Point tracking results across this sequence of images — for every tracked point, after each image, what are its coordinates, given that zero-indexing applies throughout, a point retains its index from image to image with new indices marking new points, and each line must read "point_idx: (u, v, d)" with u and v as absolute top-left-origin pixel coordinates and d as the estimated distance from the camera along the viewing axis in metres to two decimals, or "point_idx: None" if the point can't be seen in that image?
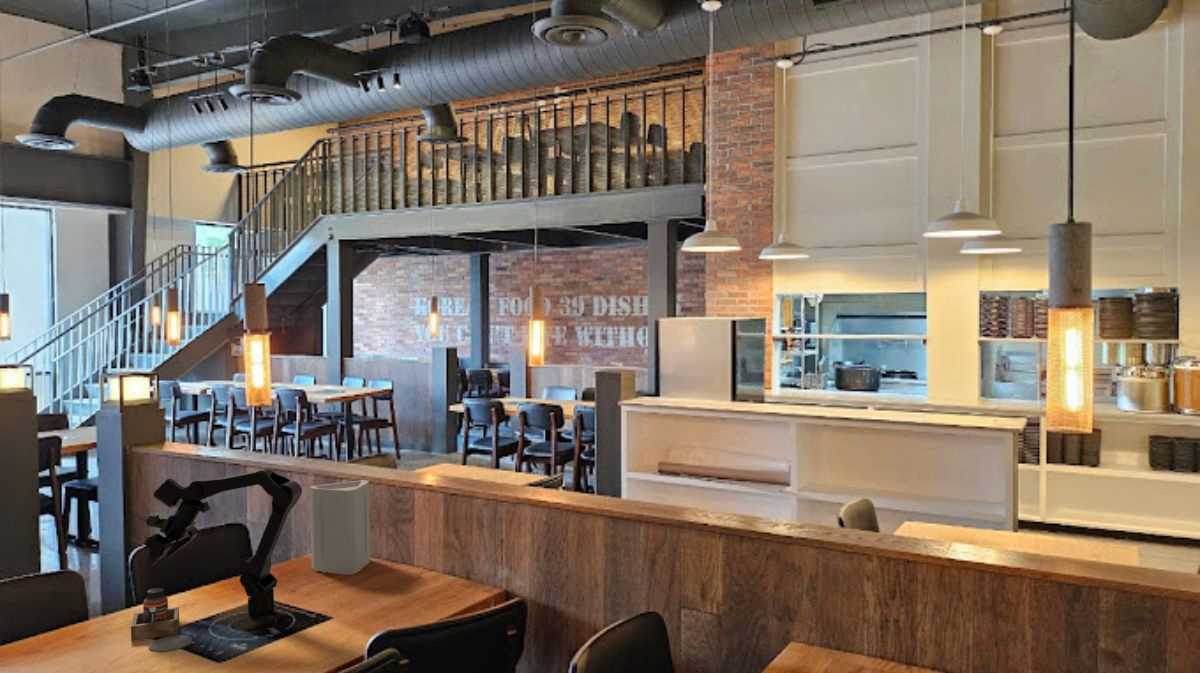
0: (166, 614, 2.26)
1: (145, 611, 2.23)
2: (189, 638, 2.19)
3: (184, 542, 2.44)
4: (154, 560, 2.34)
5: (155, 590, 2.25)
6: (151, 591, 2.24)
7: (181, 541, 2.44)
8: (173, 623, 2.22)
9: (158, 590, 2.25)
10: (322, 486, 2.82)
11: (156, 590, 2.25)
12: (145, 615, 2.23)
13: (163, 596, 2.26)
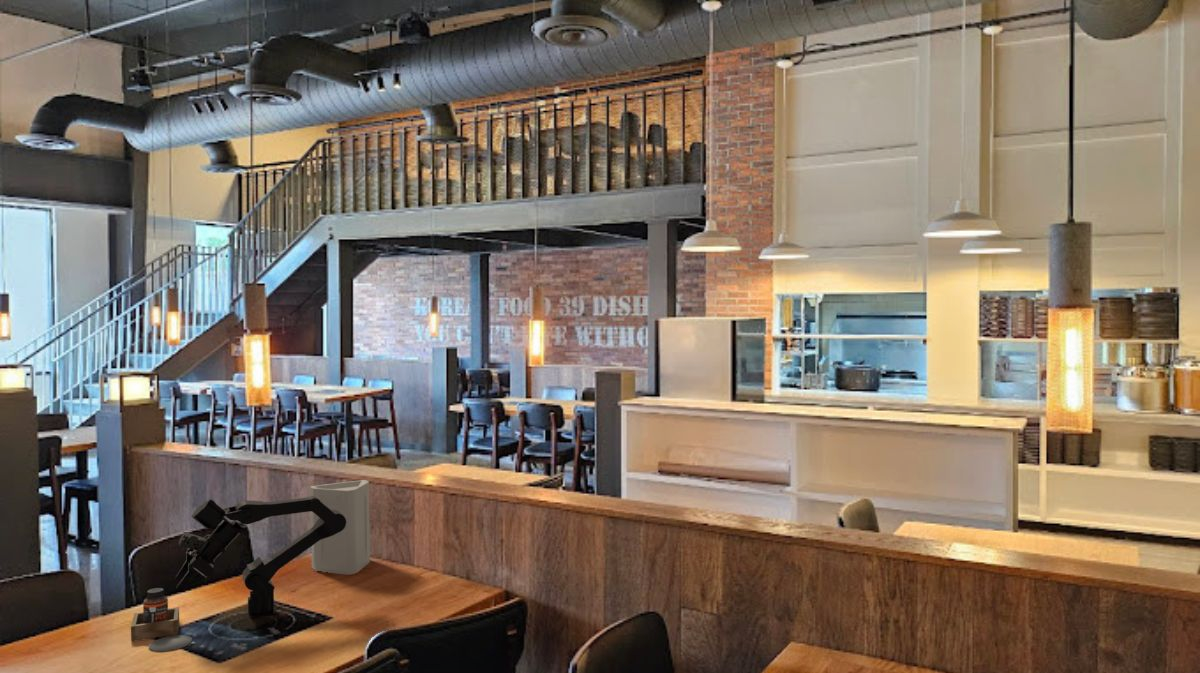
0: (166, 614, 2.26)
1: (145, 611, 2.23)
2: (189, 638, 2.19)
3: None
4: (189, 583, 2.24)
5: (155, 590, 2.25)
6: (151, 591, 2.24)
7: None
8: (173, 623, 2.22)
9: (158, 590, 2.25)
10: (322, 486, 2.82)
11: (156, 590, 2.25)
12: (145, 615, 2.23)
13: (163, 596, 2.26)
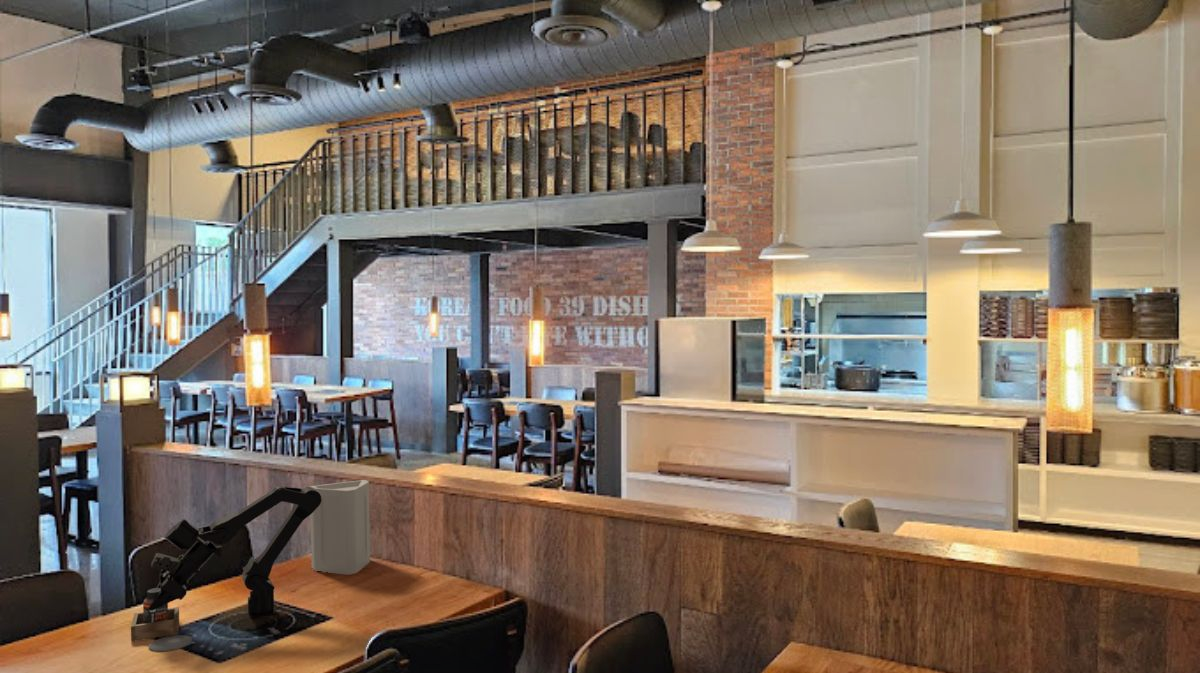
0: (166, 614, 2.26)
1: (145, 611, 2.23)
2: (189, 638, 2.19)
3: None
4: (162, 603, 2.22)
5: (155, 590, 2.25)
6: (151, 591, 2.24)
7: None
8: (173, 623, 2.22)
9: (158, 590, 2.25)
10: (322, 486, 2.82)
11: (156, 590, 2.25)
12: (145, 615, 2.23)
13: None
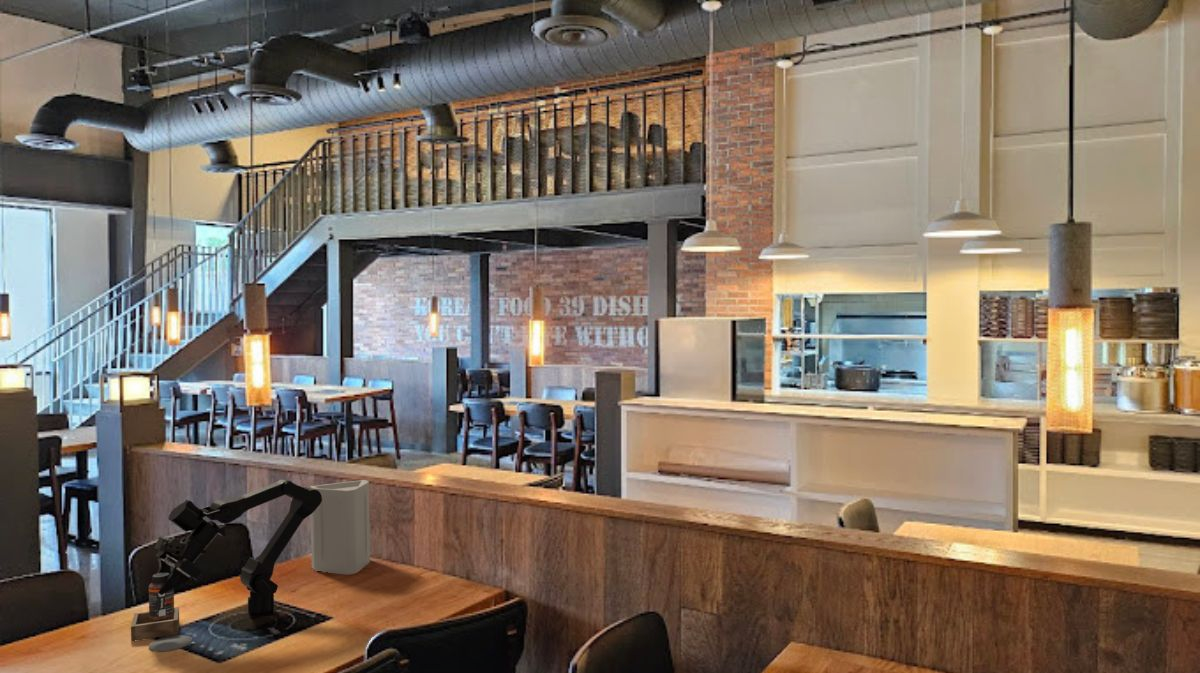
0: (173, 598, 2.20)
1: (153, 596, 2.16)
2: (189, 638, 2.19)
3: None
4: (172, 586, 2.17)
5: (161, 574, 2.19)
6: (158, 576, 2.18)
7: None
8: (173, 623, 2.22)
9: (164, 574, 2.19)
10: (322, 486, 2.82)
11: (161, 574, 2.19)
12: (153, 600, 2.16)
13: None
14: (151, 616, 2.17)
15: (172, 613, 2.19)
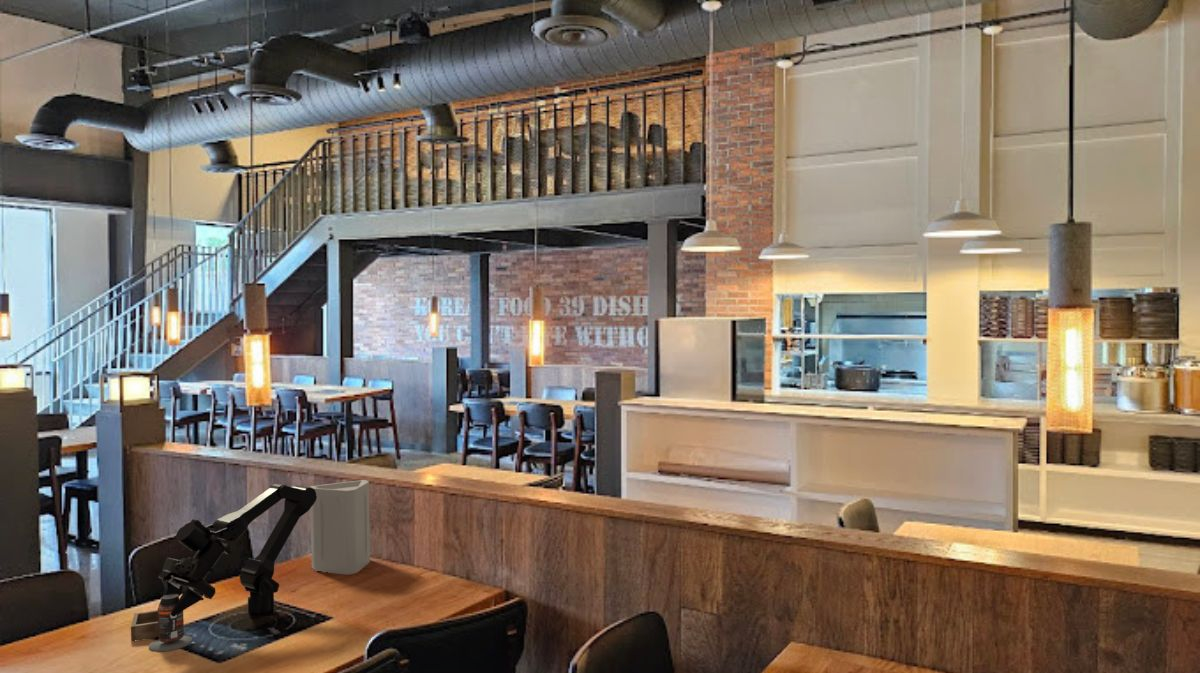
0: None
1: (164, 619, 2.13)
2: (189, 638, 2.19)
3: (180, 592, 2.22)
4: (185, 607, 2.15)
5: (171, 596, 2.16)
6: (168, 597, 2.15)
7: (177, 591, 2.21)
8: None
9: (174, 595, 2.16)
10: (322, 486, 2.82)
11: (171, 596, 2.16)
12: (164, 623, 2.13)
13: None
14: (162, 639, 2.14)
15: (183, 634, 2.17)
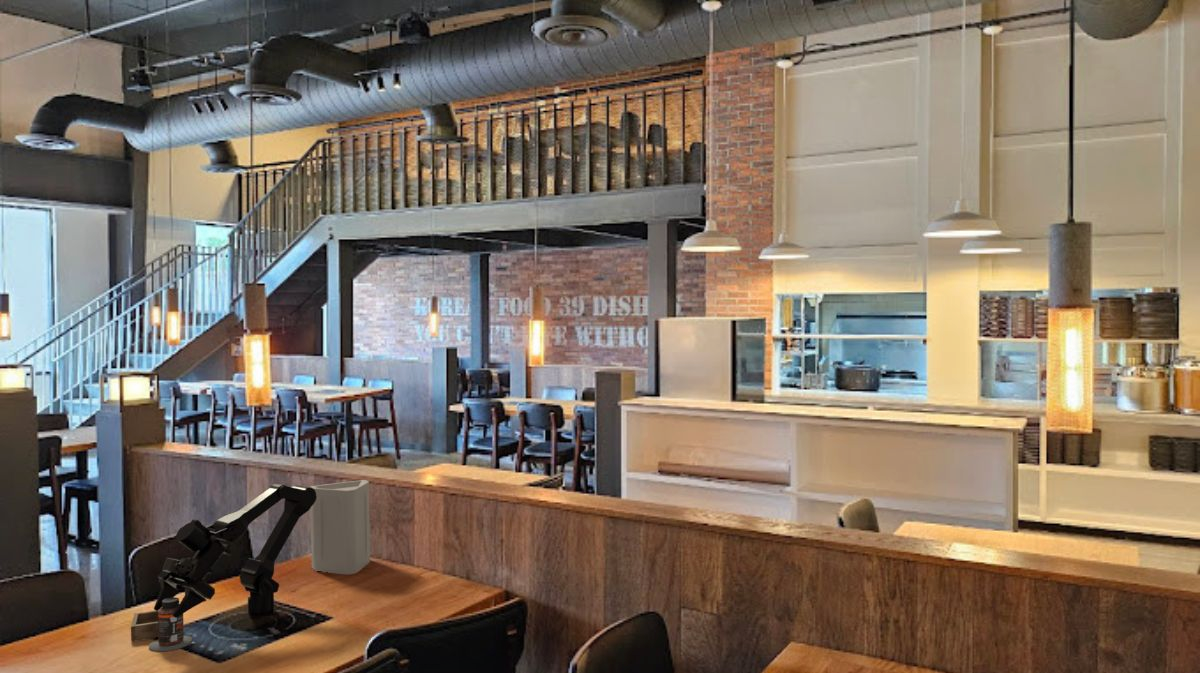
0: None
1: (164, 622, 2.13)
2: (189, 638, 2.19)
3: (176, 592, 2.23)
4: (187, 608, 2.14)
5: (171, 599, 2.16)
6: (168, 601, 2.15)
7: (173, 591, 2.22)
8: None
9: (174, 599, 2.16)
10: (322, 486, 2.82)
11: (171, 599, 2.16)
12: (164, 626, 2.13)
13: None
14: (162, 642, 2.14)
15: None
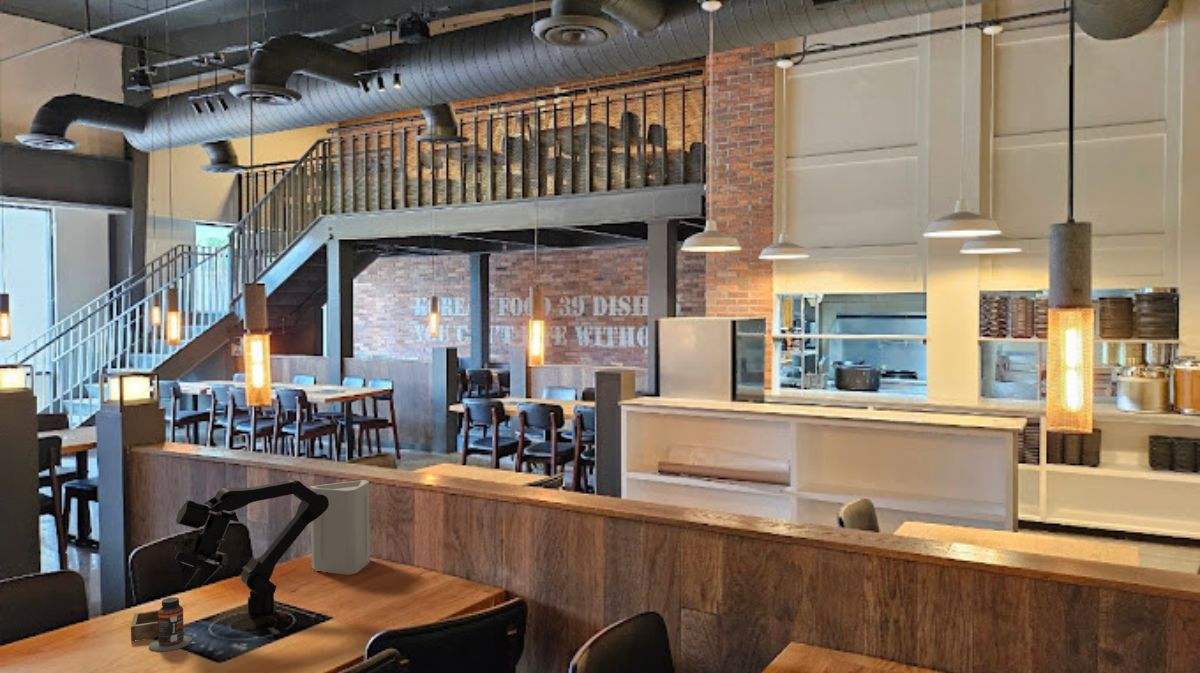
0: None
1: (164, 622, 2.13)
2: (189, 638, 2.19)
3: (215, 567, 2.33)
4: (187, 579, 2.22)
5: (171, 599, 2.16)
6: (168, 601, 2.15)
7: (212, 567, 2.33)
8: None
9: (174, 599, 2.17)
10: (322, 486, 2.82)
11: (171, 599, 2.16)
12: (164, 626, 2.13)
13: (179, 605, 2.17)
14: (162, 642, 2.14)
15: None
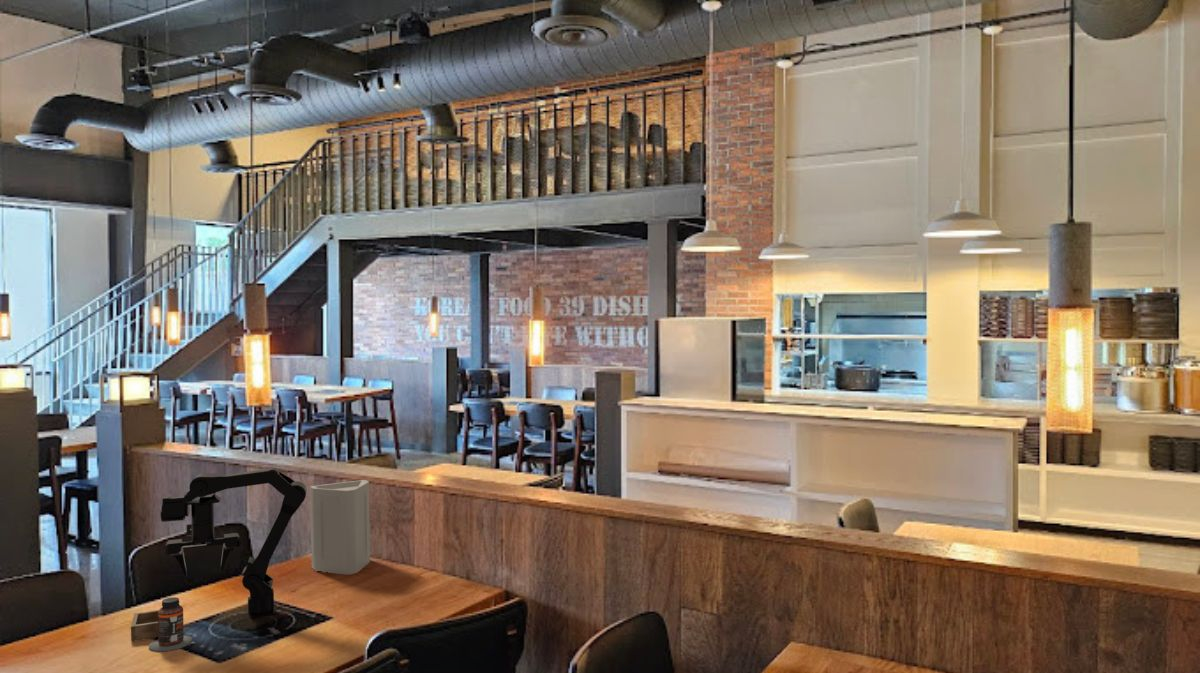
0: None
1: (164, 622, 2.13)
2: (189, 638, 2.19)
3: (223, 551, 2.34)
4: None
5: (171, 599, 2.16)
6: (168, 601, 2.15)
7: None
8: None
9: (174, 599, 2.16)
10: (322, 486, 2.82)
11: (171, 599, 2.16)
12: (164, 626, 2.13)
13: (179, 605, 2.17)
14: (162, 642, 2.14)
15: None
